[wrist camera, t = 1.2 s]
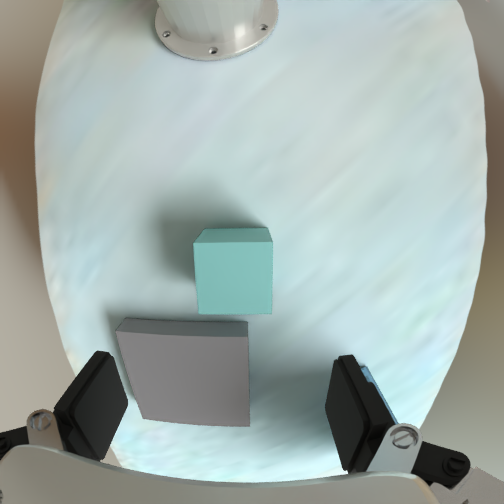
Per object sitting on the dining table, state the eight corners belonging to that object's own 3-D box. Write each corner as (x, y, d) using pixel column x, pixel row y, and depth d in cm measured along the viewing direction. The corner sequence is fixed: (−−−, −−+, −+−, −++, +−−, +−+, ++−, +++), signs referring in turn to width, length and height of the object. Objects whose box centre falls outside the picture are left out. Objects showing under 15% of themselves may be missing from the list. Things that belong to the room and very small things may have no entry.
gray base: (125, 318, 29) (115, 331, 26) (248, 321, 29) (247, 336, 26) (148, 404, 33) (142, 418, 30) (249, 410, 33) (249, 426, 30)
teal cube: (204, 228, 27) (193, 243, 21) (267, 227, 27) (272, 241, 21) (208, 286, 28) (198, 314, 23) (267, 286, 28) (271, 313, 23)
